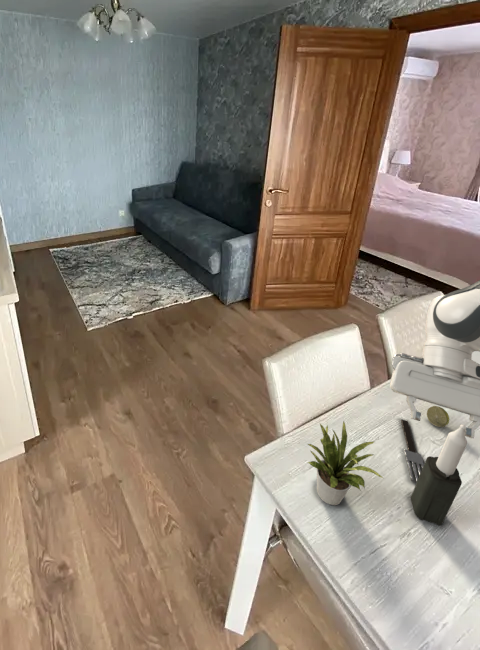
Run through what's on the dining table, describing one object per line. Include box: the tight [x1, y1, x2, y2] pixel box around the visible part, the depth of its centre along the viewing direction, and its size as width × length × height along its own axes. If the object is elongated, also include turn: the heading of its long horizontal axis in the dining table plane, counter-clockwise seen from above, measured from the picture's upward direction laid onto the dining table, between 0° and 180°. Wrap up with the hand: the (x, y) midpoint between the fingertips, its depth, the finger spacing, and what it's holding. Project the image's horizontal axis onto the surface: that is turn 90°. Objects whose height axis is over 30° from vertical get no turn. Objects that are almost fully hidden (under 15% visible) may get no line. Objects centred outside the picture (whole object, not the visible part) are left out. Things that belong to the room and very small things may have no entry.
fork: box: [400, 419, 425, 483], centre depth 86 cm, size 4×18×1 cm, turn 158°
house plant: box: [306, 420, 385, 506], centre depth 73 cm, size 14×14×16 cm
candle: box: [410, 424, 468, 526], centre depth 69 cm, size 5×5×25 cm
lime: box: [426, 405, 450, 428], centre depth 93 cm, size 4×5×5 cm
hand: (441, 428), depth 74 cm, fingers open, 8 cm apart
